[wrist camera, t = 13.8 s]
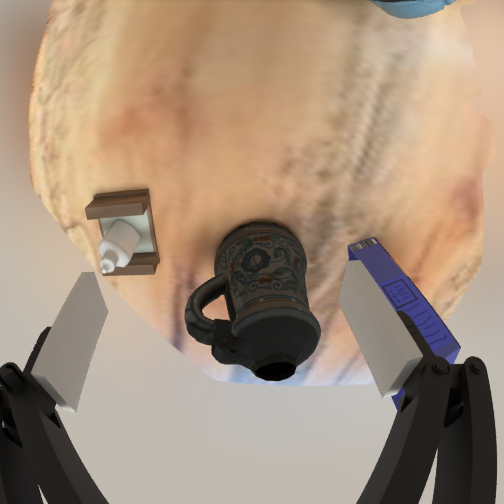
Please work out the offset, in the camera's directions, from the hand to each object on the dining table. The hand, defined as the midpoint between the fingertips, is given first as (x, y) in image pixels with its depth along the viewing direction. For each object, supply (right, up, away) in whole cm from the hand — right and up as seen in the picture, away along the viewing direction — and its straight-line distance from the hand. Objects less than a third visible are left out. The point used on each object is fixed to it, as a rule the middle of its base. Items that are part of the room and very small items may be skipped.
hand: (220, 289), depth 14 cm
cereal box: (+26, -5, +45) cm, 52 cm away
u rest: (-20, +6, +32) cm, 39 cm away
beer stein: (+1, 0, +39) cm, 39 cm away
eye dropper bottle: (-20, +5, +32) cm, 38 cm away
